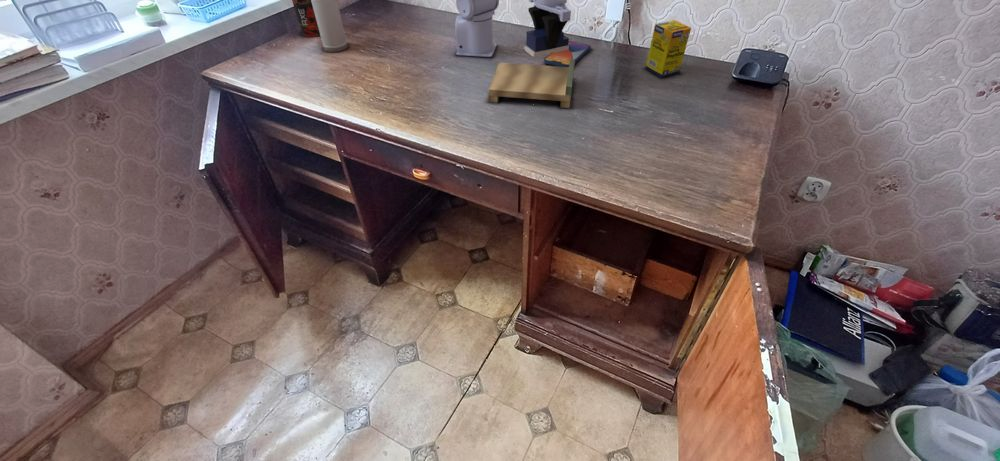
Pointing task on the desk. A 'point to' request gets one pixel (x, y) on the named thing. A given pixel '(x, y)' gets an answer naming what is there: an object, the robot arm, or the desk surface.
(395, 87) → the desk surface
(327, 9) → the travel mug
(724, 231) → the desk surface
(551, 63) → the smartphone
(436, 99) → the desk surface
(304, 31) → the deodorant
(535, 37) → the white-based navy block
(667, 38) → the supplement box
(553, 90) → the shelf
